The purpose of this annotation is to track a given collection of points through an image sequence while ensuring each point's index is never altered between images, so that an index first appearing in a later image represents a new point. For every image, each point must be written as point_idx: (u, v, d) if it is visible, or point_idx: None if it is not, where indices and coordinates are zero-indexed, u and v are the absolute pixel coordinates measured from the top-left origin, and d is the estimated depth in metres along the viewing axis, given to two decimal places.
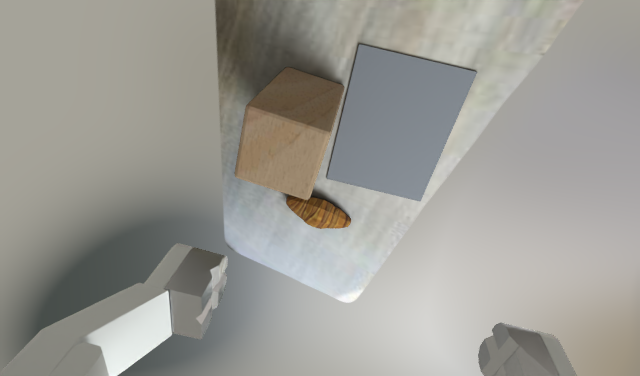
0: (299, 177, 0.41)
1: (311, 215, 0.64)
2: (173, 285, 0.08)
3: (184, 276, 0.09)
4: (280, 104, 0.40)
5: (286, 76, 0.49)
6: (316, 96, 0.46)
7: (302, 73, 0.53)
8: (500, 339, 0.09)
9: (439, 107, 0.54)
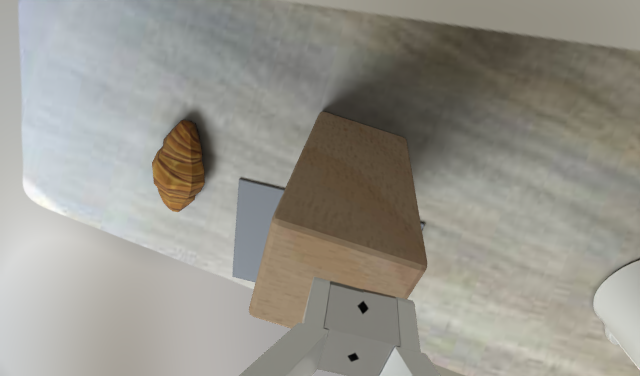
0: (291, 314, 0.24)
1: (173, 174, 0.39)
2: (331, 324, 0.08)
3: (337, 314, 0.09)
4: None
5: None
6: None
7: None
8: None
9: None
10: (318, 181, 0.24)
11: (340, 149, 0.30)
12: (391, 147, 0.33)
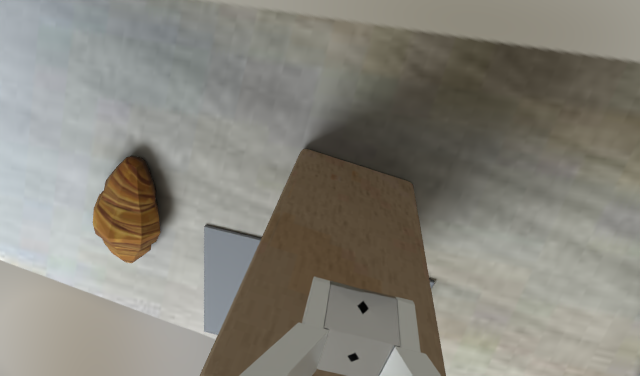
0: None
1: (117, 226, 0.31)
2: (331, 324, 0.08)
3: (337, 314, 0.09)
4: None
5: None
6: None
7: None
8: None
9: None
10: (286, 282, 0.16)
11: (325, 211, 0.22)
12: (394, 201, 0.25)
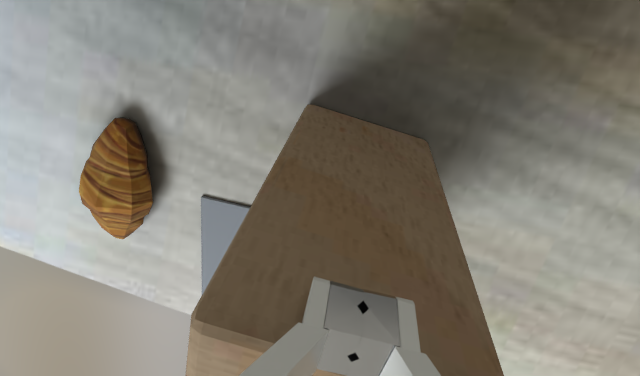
0: None
1: (105, 193, 0.28)
2: (331, 324, 0.08)
3: (337, 314, 0.09)
4: None
5: None
6: None
7: None
8: None
9: None
10: (295, 222, 0.14)
11: (335, 159, 0.19)
12: (410, 155, 0.23)
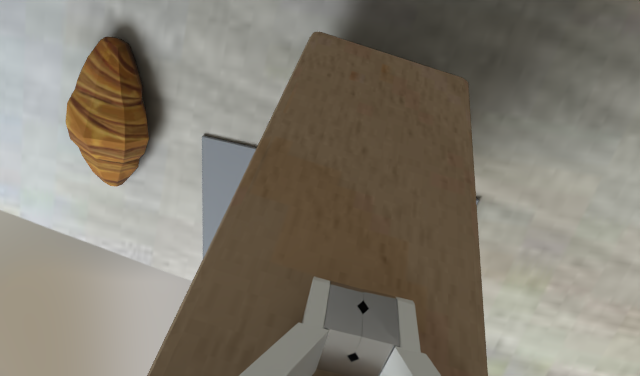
0: None
1: (95, 122, 0.25)
2: (331, 324, 0.08)
3: (337, 313, 0.09)
4: None
5: None
6: None
7: None
8: None
9: None
10: (269, 252, 0.11)
11: (336, 133, 0.15)
12: (439, 112, 0.18)
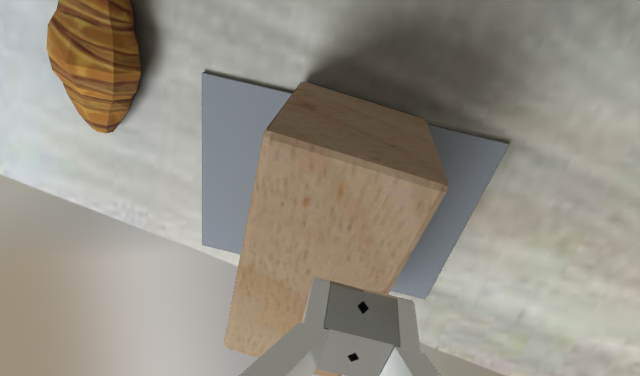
0: None
1: (79, 46, 0.22)
2: (331, 324, 0.08)
3: (337, 314, 0.09)
4: None
5: None
6: None
7: None
8: None
9: None
10: (256, 316, 0.25)
11: (288, 259, 0.21)
12: (385, 237, 0.19)
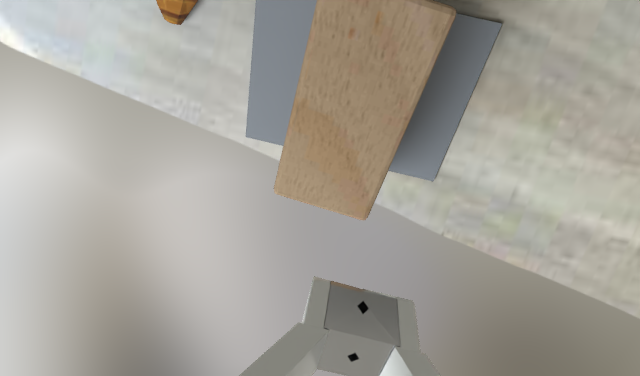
0: None
1: None
2: (331, 324, 0.08)
3: (337, 314, 0.09)
4: None
5: None
6: None
7: None
8: None
9: None
10: (303, 155, 0.31)
11: (333, 91, 0.28)
12: (409, 62, 0.26)
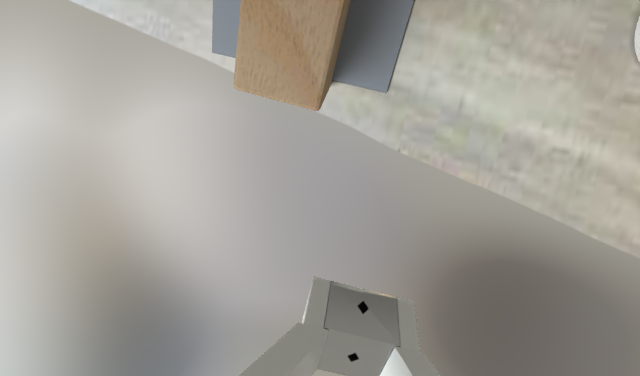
0: None
1: None
2: (331, 324, 0.08)
3: (337, 314, 0.09)
4: (328, 78, 0.38)
5: None
6: (347, 9, 0.38)
7: None
8: None
9: (345, 57, 0.43)
10: (255, 43, 0.34)
11: None
12: None
